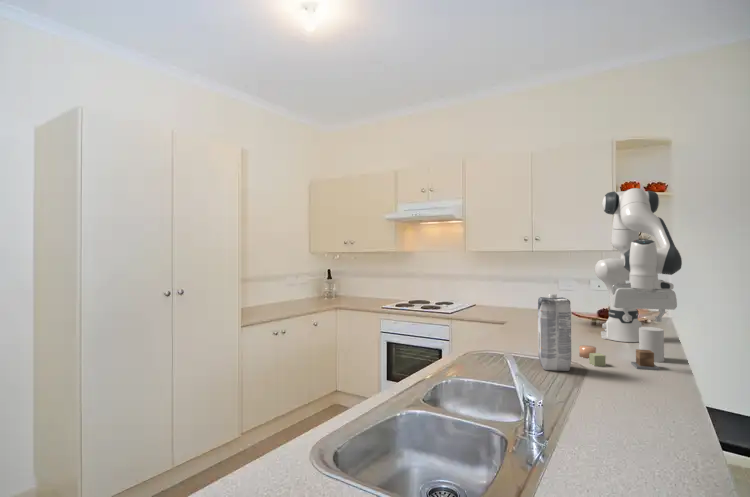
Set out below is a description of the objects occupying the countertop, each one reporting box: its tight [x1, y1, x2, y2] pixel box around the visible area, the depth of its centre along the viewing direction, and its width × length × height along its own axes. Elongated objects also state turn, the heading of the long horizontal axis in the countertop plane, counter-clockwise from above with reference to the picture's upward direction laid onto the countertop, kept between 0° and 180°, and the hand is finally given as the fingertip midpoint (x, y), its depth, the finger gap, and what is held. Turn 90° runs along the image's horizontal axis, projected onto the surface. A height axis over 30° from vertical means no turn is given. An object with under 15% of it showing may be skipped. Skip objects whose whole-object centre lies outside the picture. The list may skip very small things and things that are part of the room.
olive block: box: [588, 352, 606, 367], centre depth 157 cm, size 4×4×4 cm
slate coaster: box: [630, 361, 660, 371], centre depth 154 cm, size 7×7×1 cm
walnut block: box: [635, 348, 655, 367], centre depth 154 cm, size 4×4×5 cm
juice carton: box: [537, 293, 572, 372], centre depth 153 cm, size 9×10×27 cm
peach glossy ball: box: [578, 344, 597, 359], centre depth 169 cm, size 6×6×4 cm
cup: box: [638, 326, 665, 363], centre depth 164 cm, size 8×8×12 cm
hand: (643, 320), depth 154 cm, fingers open, 8 cm apart
